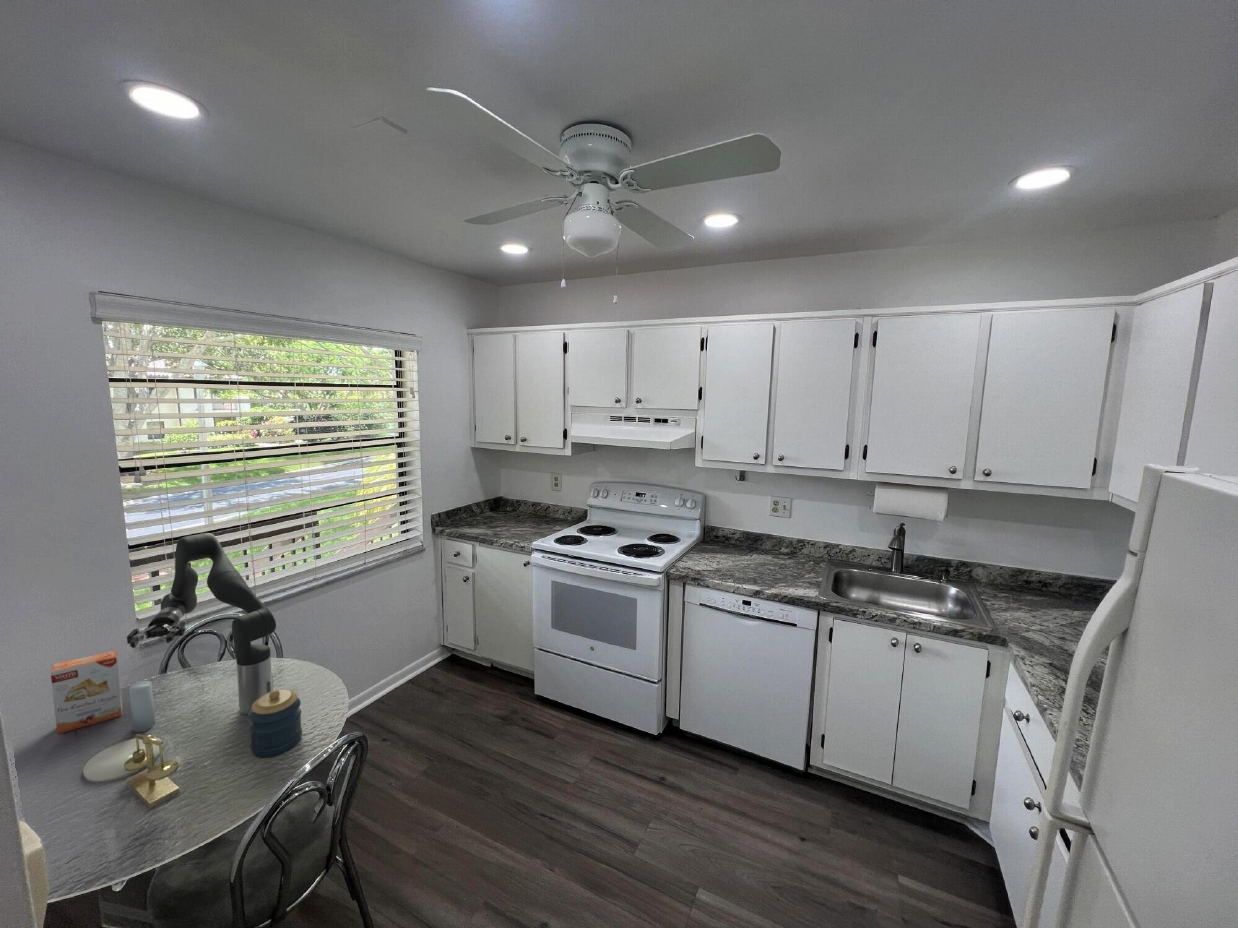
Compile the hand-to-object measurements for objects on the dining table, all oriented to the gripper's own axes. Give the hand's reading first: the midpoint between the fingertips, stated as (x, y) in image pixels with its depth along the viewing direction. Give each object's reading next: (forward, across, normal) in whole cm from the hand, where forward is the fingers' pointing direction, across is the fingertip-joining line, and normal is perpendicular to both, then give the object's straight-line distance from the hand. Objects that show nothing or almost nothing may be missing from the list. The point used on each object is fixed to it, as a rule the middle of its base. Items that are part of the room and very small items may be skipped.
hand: (150, 642), depth 162 cm
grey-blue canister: (+12, 0, +22) cm, 25 cm away
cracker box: (+2, -15, +23) cm, 27 cm away
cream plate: (+28, 0, +22) cm, 36 cm away
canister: (+38, +37, +22) cm, 58 cm away
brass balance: (+44, +10, +22) cm, 50 cm away
